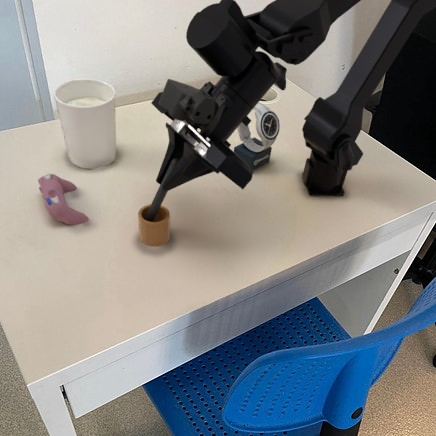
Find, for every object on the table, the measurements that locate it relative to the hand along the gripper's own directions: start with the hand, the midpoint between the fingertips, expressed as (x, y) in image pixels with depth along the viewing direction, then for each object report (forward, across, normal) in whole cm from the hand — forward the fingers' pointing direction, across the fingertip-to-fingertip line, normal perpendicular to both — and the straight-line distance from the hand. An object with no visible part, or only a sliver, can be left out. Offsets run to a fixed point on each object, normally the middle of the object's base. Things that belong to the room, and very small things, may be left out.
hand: (161, 186), depth 68 cm
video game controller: (+15, -12, 0) cm, 19 cm away
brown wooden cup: (+8, 0, +6) cm, 10 cm away
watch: (-10, -12, +25) cm, 29 cm away
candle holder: (+8, -26, +7) cm, 27 cm away
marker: (+5, 0, +5) cm, 7 cm away
